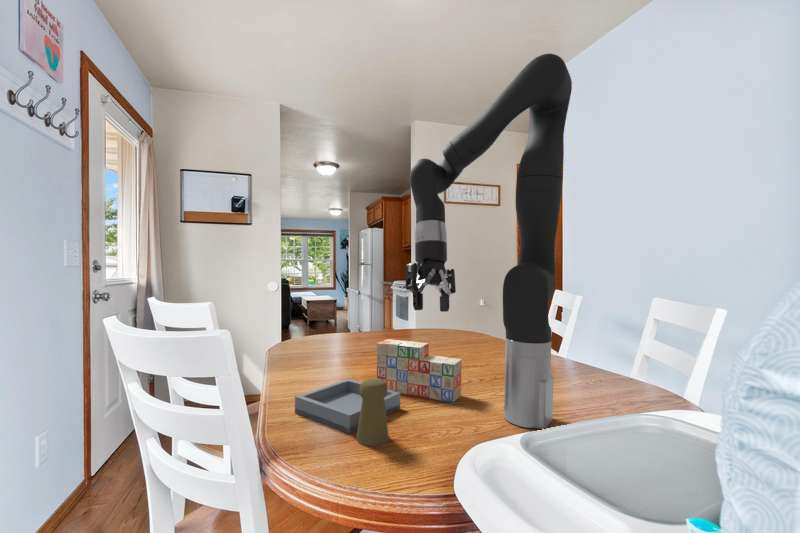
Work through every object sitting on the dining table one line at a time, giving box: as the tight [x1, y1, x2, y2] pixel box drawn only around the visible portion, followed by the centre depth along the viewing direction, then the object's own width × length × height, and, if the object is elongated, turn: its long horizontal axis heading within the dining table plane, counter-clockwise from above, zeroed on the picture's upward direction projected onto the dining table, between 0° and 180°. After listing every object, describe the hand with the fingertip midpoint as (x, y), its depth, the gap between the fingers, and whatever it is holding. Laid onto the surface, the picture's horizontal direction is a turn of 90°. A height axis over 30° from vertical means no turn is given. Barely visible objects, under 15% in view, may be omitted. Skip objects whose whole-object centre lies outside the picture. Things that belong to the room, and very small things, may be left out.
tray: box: [294, 378, 401, 435], centre depth 85 cm, size 16×16×4 cm
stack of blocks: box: [376, 338, 463, 404], centre depth 98 cm, size 21×6×12 cm, turn 63°
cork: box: [356, 378, 390, 447], centre depth 72 cm, size 6×6×11 cm
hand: (431, 310), depth 89 cm, fingers open, 8 cm apart
